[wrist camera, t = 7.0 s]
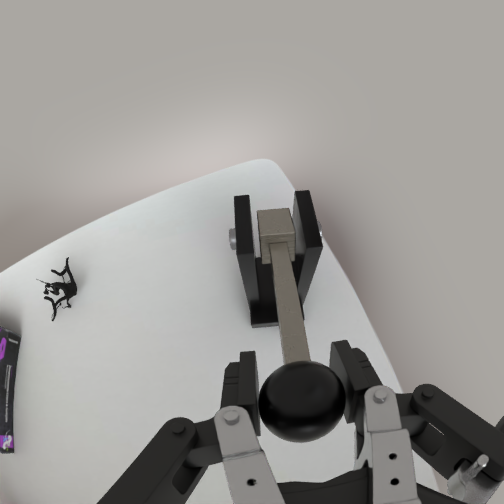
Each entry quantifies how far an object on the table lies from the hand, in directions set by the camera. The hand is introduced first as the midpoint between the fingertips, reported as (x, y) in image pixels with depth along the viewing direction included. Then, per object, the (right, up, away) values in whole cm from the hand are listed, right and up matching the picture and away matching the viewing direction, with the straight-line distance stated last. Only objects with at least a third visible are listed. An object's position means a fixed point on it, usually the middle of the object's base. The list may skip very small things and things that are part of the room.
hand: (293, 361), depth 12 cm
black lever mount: (0, +1, +15) cm, 15 cm away
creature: (-26, 0, +17) cm, 31 cm away
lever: (0, +1, +2) cm, 3 cm away
